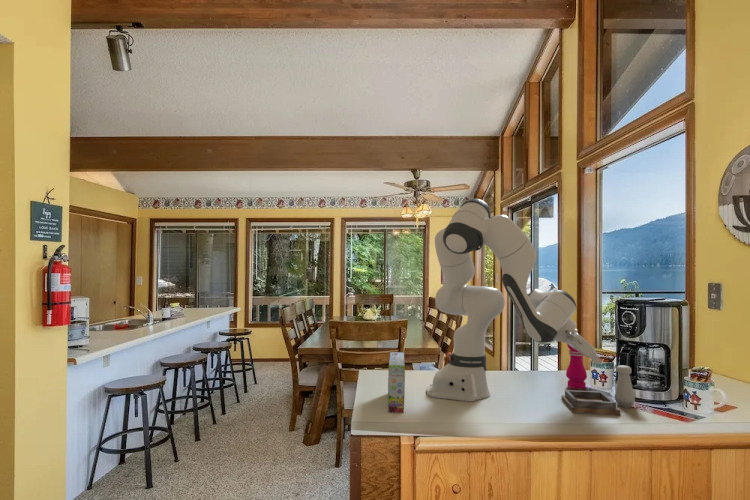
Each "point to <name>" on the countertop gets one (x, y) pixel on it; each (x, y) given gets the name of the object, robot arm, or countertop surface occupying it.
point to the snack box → (396, 382)
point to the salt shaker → (624, 387)
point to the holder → (590, 402)
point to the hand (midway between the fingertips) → (594, 359)
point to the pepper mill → (576, 370)
